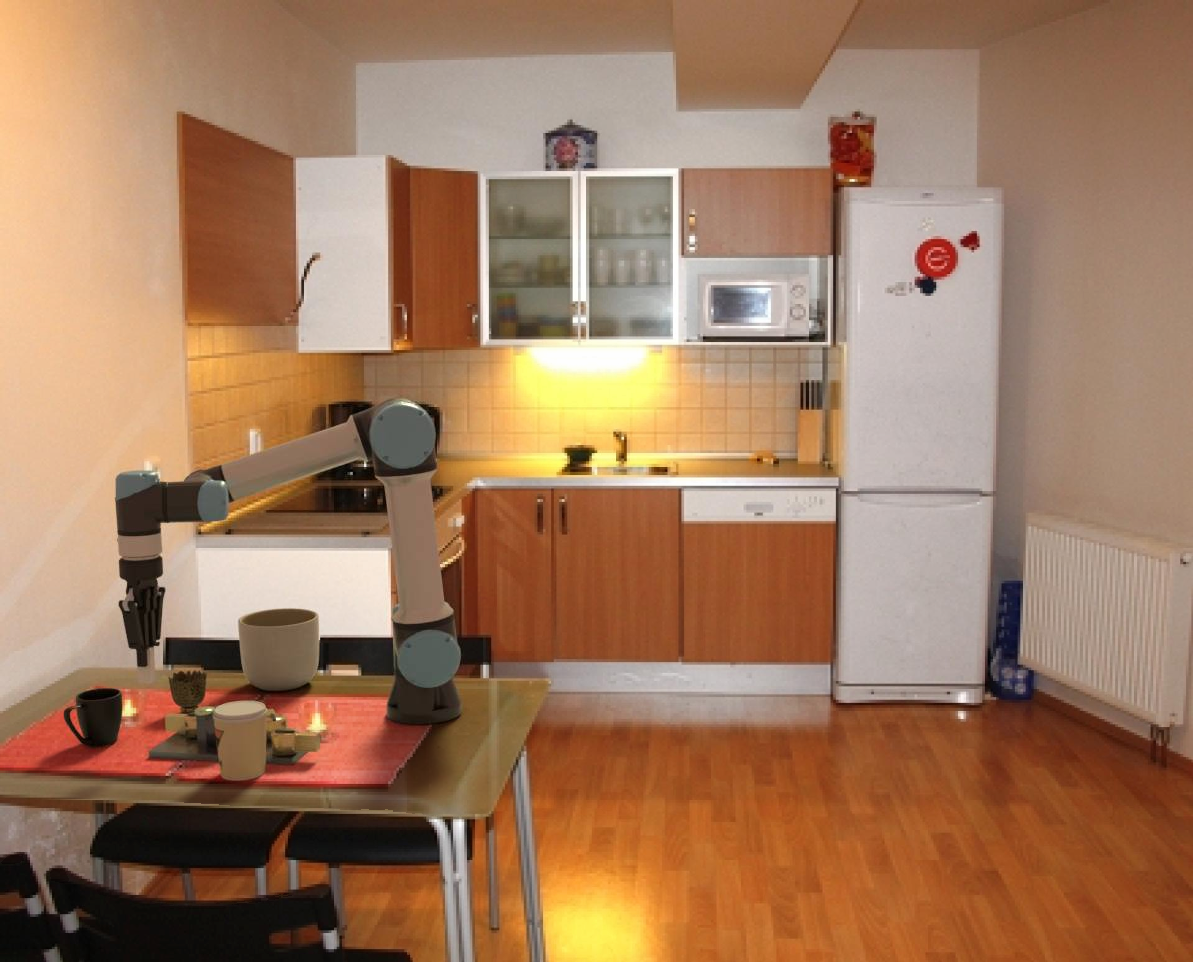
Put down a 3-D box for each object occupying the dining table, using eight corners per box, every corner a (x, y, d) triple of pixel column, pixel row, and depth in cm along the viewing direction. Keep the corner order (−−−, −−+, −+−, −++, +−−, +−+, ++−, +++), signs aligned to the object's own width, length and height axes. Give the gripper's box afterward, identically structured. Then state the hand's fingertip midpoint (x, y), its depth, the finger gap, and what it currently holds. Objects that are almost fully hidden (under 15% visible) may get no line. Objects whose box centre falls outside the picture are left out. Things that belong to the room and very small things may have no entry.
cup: (197, 719, 264) (195, 680, 263) (163, 717, 266) (161, 679, 265) (215, 708, 271) (213, 670, 270) (182, 706, 273) (180, 668, 272)
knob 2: (289, 738, 248) (288, 718, 247) (262, 741, 246) (261, 721, 245) (282, 724, 256) (281, 704, 255) (255, 727, 254) (254, 708, 253)
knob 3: (267, 754, 239) (266, 733, 238) (278, 745, 244) (277, 725, 243) (313, 756, 237) (312, 736, 237) (323, 747, 242) (322, 727, 242)
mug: (52, 751, 246) (49, 702, 245) (104, 732, 257) (101, 685, 255) (82, 758, 242) (78, 708, 241) (133, 739, 253) (130, 691, 251)
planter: (299, 669, 299) (296, 604, 297) (335, 686, 286) (332, 618, 284) (228, 683, 288) (225, 616, 286) (261, 701, 275) (258, 631, 273)
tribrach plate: (321, 739, 251) (319, 698, 250) (292, 764, 238) (290, 722, 237) (184, 732, 256) (182, 693, 255) (149, 757, 242) (146, 715, 241)
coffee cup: (222, 764, 238) (218, 700, 237) (274, 762, 239) (271, 699, 237) (210, 783, 229) (207, 716, 227) (265, 781, 230) (261, 715, 228)
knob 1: (217, 729, 253) (216, 709, 252) (205, 738, 248) (204, 718, 248) (174, 727, 254) (173, 708, 254) (161, 736, 250) (160, 716, 249)
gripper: (139, 548, 245) (145, 671, 248) (102, 562, 232) (109, 691, 235) (177, 550, 244) (182, 673, 247) (141, 563, 231) (148, 693, 234)
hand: (146, 682), depth 241 cm, fingers closed
